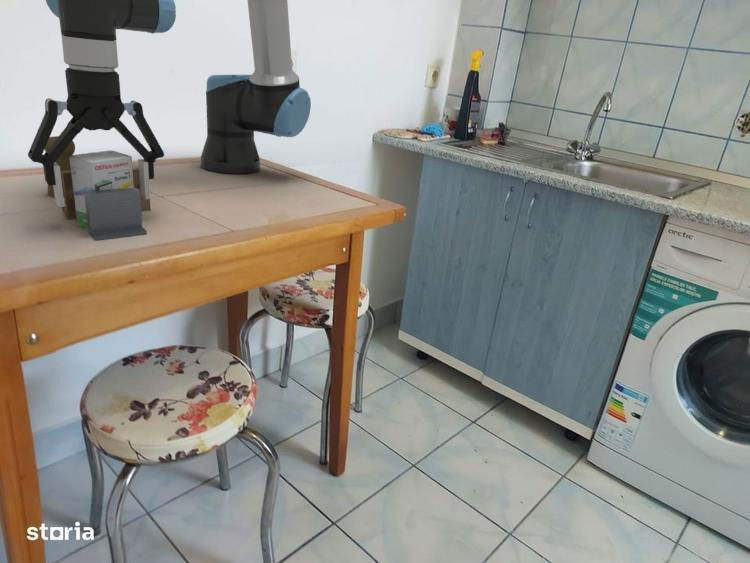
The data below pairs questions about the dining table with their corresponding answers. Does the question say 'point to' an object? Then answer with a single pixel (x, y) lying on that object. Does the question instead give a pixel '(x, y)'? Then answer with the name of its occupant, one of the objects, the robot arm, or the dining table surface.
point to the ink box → (98, 176)
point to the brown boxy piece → (70, 201)
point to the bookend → (114, 213)
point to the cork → (61, 160)
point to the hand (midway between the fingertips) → (104, 200)
